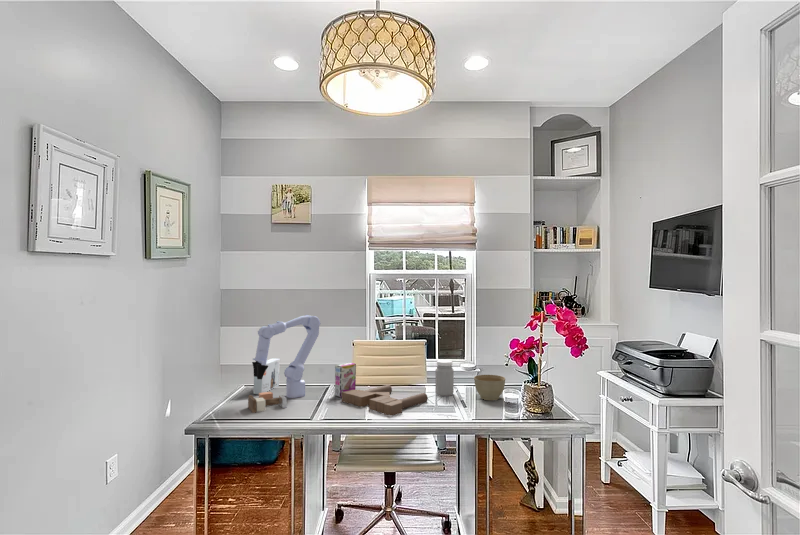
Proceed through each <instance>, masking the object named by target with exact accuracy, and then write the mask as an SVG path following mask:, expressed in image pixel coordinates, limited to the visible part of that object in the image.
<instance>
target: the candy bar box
mask: <svg viewBox="0 0 800 535" xmlns="http://www.w3.org/2000/svg"><path fill="white" fill-rule="evenodd" d="M334 368H335V369H334V396H335V397H337V398H342V392H345V391H350V390H356V381H357V380H356V376H357V370H356V369H357V363H354V362H347V363H341V364H340V363H339V364H335V365H334Z"/></svg>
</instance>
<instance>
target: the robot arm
mask: <svg viewBox="0 0 800 535" xmlns="http://www.w3.org/2000/svg"><path fill="white" fill-rule="evenodd" d="M300 325H302V326H303V327H304V329H305V330H306V333H307V335H306V337H305V339H304V341H303V343H302V345H301V347H300V348H299V351H298V352H297V355H296V356H295V358H294V360H293V361H291V362H290V364H289V365H288V366H287V367H285V369H284V372H283V374H284V376H285V378H286V381H285V382H286V383H285V384H286V387H285V388H286V390H285V394H286V395H285V397H286V398H287V399H288V398H289V399H294V398H295V399H296V398H300V397H306V382H305V380H304V379H302V378H303V376H304V371H305V366H304V365H305V362H306V361H307V358H308V357H309V355H310V353H311V351H312V349H313V347H314V345H315V343H316V342H317V339H318V337H319V334H320V326H321V320H320V318H319V317H318V316H317V315H310V314H305V315H300V316H298V317H295V318H293V319H291V320H288V321H285V322H284V321H282V320H277V321H276V322H274V323H268V324H267V326H266V325H263V326H261V327H260V328H259V330H257V335H258V340H257V346H256V347H257V348H256V353H255V357H254V358H253V357H252V363H251V364H252V367H253V378H254V377H257V379H262V378H263V375H264V373H265V371H266V369H267V368H268V366H267V365H266V362H267V360H268V355H269V350H270V344H271V339H272V338H273V336H277V335H279V334H282V333H285V331H286V330H287V329H290V328H293V327H296V326H300Z"/></svg>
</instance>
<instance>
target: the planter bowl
mask: <svg viewBox="0 0 800 535" xmlns="http://www.w3.org/2000/svg"><path fill="white" fill-rule="evenodd" d="M473 379H474V380H473V381H474V387H475V389H476V391H477V394H479V397H480V399H481V400H483V399H484V400H485V401H494V400H495V401H498V400H499V399H500V396H501V395H502V393H503V391H504V390H505V385H506V377H504V376H503V375H497V374H479V375H475V376H474V377H473Z"/></svg>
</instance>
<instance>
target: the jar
mask: <svg viewBox="0 0 800 535" xmlns="http://www.w3.org/2000/svg"><path fill="white" fill-rule="evenodd" d="M454 372H455V371H454V369H453V360H450V359H438V360H436V368H435V390H434V391H435V394H436V395H437V394H438V395H440V397H450V395H451V396H452V395H453V394H454V391H455V390H454V387H455V385H454V384H455V383H454V382H455V381H454V376H455V374H454ZM438 395H437V396H438Z"/></svg>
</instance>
